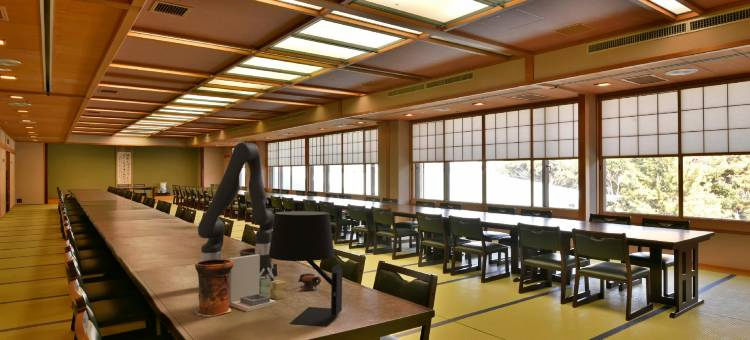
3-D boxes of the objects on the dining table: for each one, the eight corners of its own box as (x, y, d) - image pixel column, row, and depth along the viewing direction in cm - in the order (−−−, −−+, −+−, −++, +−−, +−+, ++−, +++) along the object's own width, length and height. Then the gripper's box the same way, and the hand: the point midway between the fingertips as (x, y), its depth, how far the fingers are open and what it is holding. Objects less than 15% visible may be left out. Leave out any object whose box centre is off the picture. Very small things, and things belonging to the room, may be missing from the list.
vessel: (210, 319, 168) (211, 265, 169) (186, 313, 175) (187, 262, 176) (240, 310, 180) (241, 260, 181) (217, 305, 188) (217, 257, 188)
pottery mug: (295, 291, 214) (294, 274, 218) (303, 296, 222) (303, 279, 226) (318, 286, 211) (317, 269, 216) (326, 291, 219) (325, 275, 223)
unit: (227, 304, 188) (228, 258, 188) (255, 298, 199) (256, 254, 199) (247, 311, 179) (248, 262, 179) (276, 304, 189) (276, 258, 190)
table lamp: (329, 328, 160) (331, 216, 161) (255, 323, 165) (258, 214, 166) (346, 308, 185) (348, 211, 186) (282, 304, 190) (283, 209, 191)
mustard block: (269, 297, 201) (270, 281, 201) (278, 295, 205) (279, 279, 205) (276, 299, 198) (277, 283, 198) (285, 297, 202) (286, 281, 202)
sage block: (254, 293, 207) (255, 278, 207) (263, 291, 210) (264, 276, 211) (261, 295, 203) (261, 280, 204) (270, 293, 207) (270, 278, 207)
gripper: (271, 250, 215) (270, 284, 214) (245, 253, 204) (245, 289, 204) (280, 251, 210) (280, 286, 210) (255, 255, 199) (254, 292, 199)
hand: (263, 288), depth 207 cm, fingers open, 8 cm apart
